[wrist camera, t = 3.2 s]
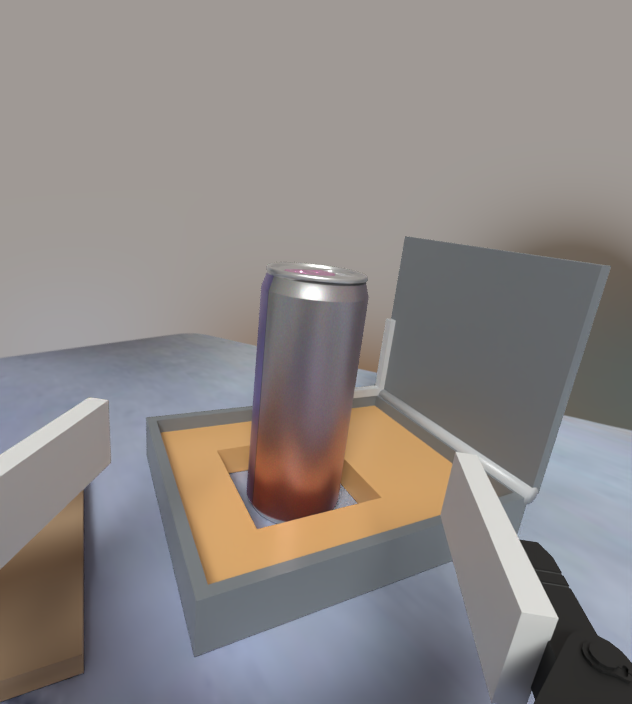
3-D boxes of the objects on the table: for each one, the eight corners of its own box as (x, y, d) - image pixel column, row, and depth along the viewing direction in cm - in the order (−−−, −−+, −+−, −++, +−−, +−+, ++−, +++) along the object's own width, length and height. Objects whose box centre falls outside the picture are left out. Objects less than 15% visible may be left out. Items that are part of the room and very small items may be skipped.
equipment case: (146, 454, 31) (143, 209, 26) (380, 420, 41) (412, 237, 35) (194, 657, 17) (208, 230, 12) (525, 533, 27) (610, 266, 22)
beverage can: (230, 486, 28) (243, 259, 24) (304, 464, 32) (327, 263, 27) (275, 545, 24) (303, 278, 19) (355, 512, 27) (394, 279, 23)
